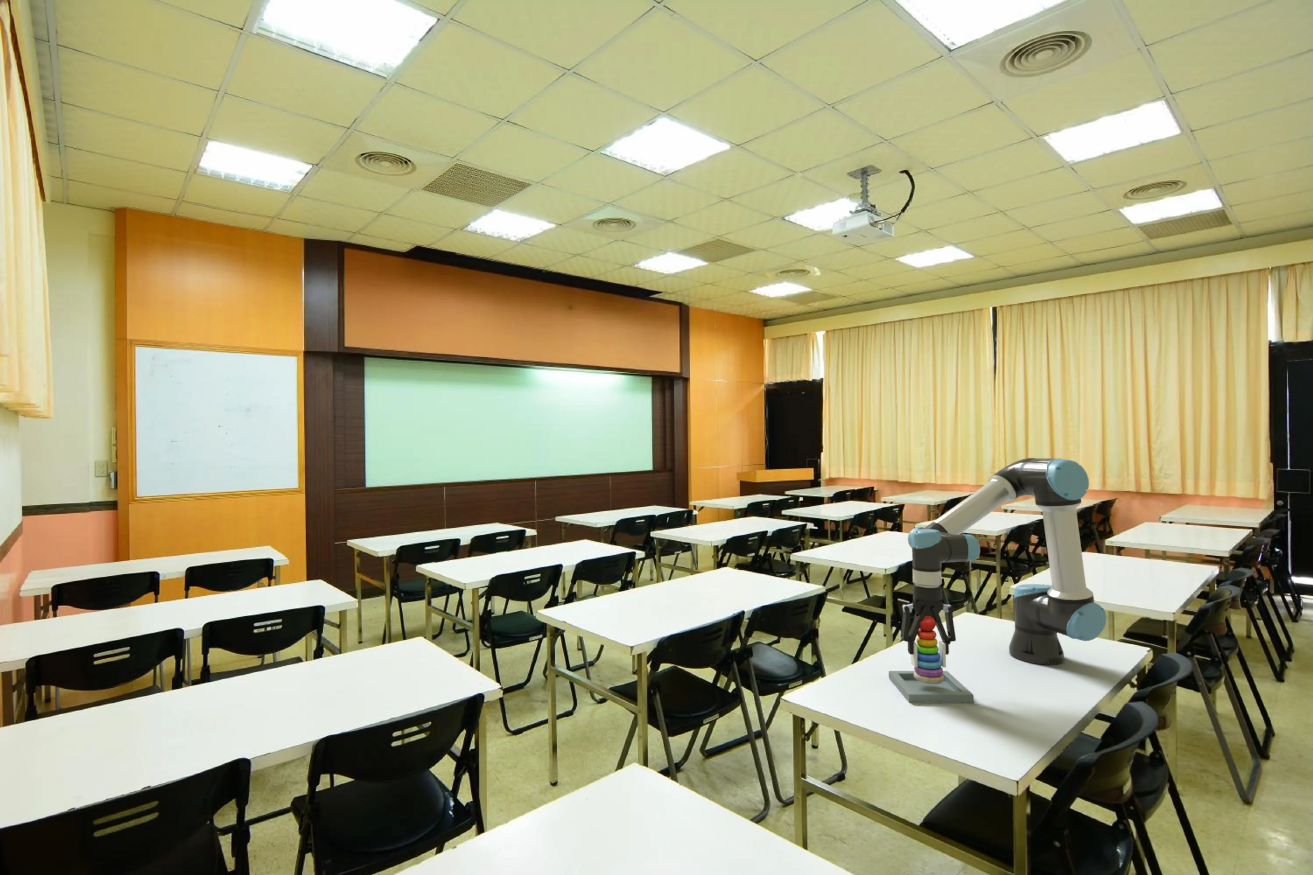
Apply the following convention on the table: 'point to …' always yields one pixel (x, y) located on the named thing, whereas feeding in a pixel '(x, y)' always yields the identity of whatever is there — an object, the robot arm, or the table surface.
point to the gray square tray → (930, 689)
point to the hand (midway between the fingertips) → (928, 665)
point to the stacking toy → (928, 654)
